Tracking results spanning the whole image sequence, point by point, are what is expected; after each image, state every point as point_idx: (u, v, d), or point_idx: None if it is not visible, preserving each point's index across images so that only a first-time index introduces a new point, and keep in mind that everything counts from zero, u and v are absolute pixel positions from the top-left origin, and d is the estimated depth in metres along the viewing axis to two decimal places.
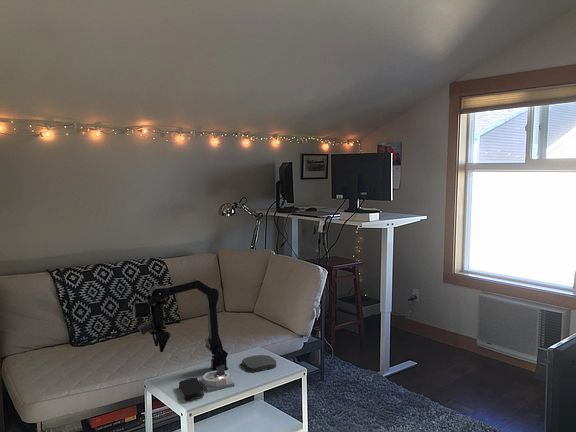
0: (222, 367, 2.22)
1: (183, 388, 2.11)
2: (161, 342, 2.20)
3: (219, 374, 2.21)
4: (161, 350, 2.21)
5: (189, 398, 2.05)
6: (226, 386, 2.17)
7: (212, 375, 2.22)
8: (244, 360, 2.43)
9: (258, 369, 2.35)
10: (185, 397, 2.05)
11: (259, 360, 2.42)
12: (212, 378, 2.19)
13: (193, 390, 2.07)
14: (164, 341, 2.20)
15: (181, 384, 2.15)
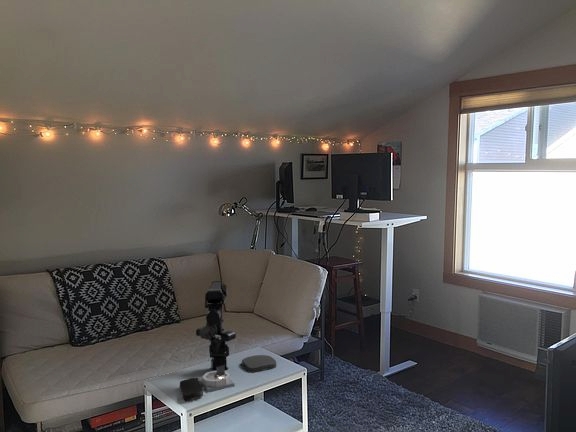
0: (222, 367, 2.22)
1: (183, 388, 2.11)
2: (217, 342, 2.23)
3: (219, 374, 2.21)
4: (217, 350, 2.23)
5: (187, 398, 2.05)
6: (226, 386, 2.17)
7: (212, 375, 2.22)
8: (244, 360, 2.43)
9: (258, 369, 2.35)
10: (183, 397, 2.05)
11: (259, 360, 2.42)
12: (212, 378, 2.19)
13: (192, 391, 2.07)
14: (220, 341, 2.23)
15: (181, 384, 2.15)
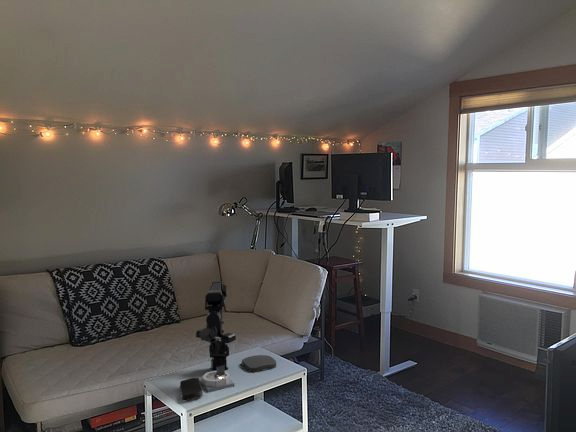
0: (222, 367, 2.22)
1: (182, 388, 2.11)
2: (218, 344, 2.23)
3: (219, 374, 2.21)
4: (217, 352, 2.23)
5: (186, 398, 2.05)
6: (226, 386, 2.17)
7: (212, 375, 2.22)
8: (244, 360, 2.43)
9: (258, 369, 2.35)
10: (183, 397, 2.05)
11: (259, 360, 2.42)
12: (212, 378, 2.19)
13: (191, 391, 2.07)
14: (220, 343, 2.24)
15: (182, 384, 2.16)
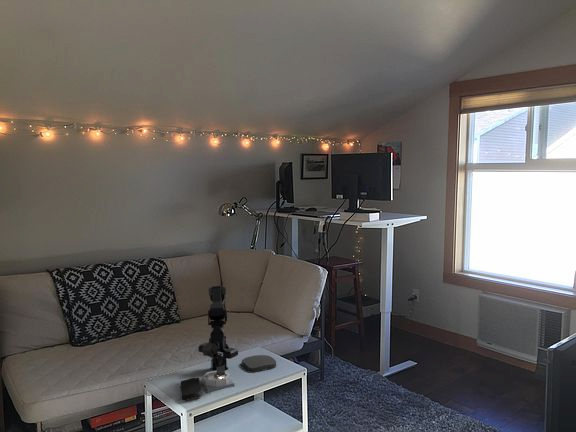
0: (222, 367, 2.22)
1: (182, 388, 2.11)
2: (220, 359, 2.23)
3: (219, 374, 2.21)
4: None
5: (185, 398, 2.05)
6: (226, 386, 2.17)
7: (212, 375, 2.22)
8: (244, 360, 2.43)
9: (258, 369, 2.35)
10: (182, 397, 2.05)
11: (259, 360, 2.42)
12: (212, 378, 2.19)
13: (190, 391, 2.07)
14: (222, 358, 2.24)
15: (182, 383, 2.16)
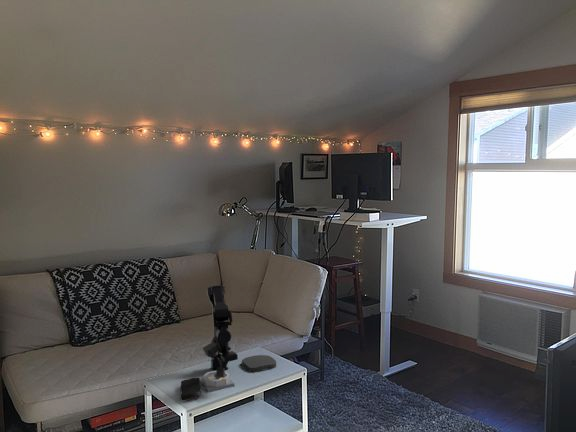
0: (221, 370, 2.19)
1: (182, 388, 2.11)
2: (223, 361, 2.21)
3: (218, 375, 2.20)
4: None
5: (185, 398, 2.05)
6: (226, 386, 2.17)
7: (216, 374, 2.23)
8: (244, 360, 2.43)
9: (258, 369, 2.35)
10: (181, 397, 2.05)
11: (259, 360, 2.42)
12: (209, 376, 2.21)
13: (190, 391, 2.07)
14: None
15: (182, 383, 2.16)
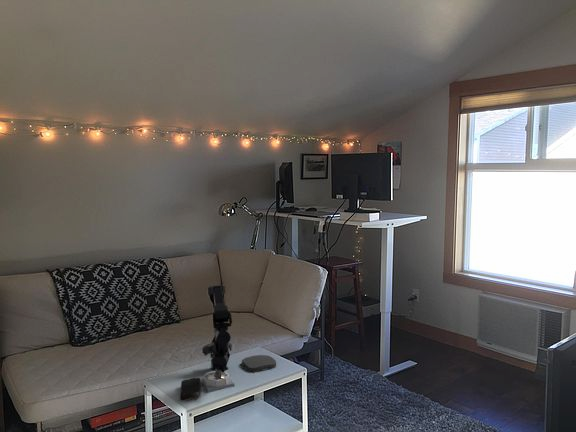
0: (217, 371, 2.18)
1: (182, 387, 2.11)
2: None
3: (216, 376, 2.20)
4: (222, 370, 2.20)
5: (184, 398, 2.05)
6: (226, 386, 2.17)
7: None
8: (244, 360, 2.43)
9: (258, 369, 2.35)
10: (180, 397, 2.05)
11: (259, 360, 2.42)
12: (211, 375, 2.23)
13: (189, 391, 2.07)
14: None
15: (182, 383, 2.16)
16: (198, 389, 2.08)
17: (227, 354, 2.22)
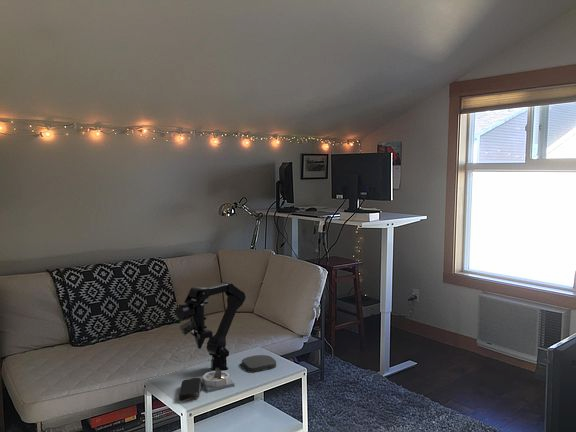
0: (217, 371, 2.18)
1: (182, 387, 2.12)
2: (199, 339, 2.28)
3: (216, 376, 2.20)
4: (199, 347, 2.29)
5: (183, 398, 2.05)
6: (226, 386, 2.17)
7: None
8: (244, 360, 2.43)
9: (258, 369, 2.35)
10: (179, 397, 2.05)
11: (259, 360, 2.42)
12: (211, 374, 2.23)
13: (188, 391, 2.07)
14: None
15: (183, 383, 2.16)
16: (197, 389, 2.08)
17: None
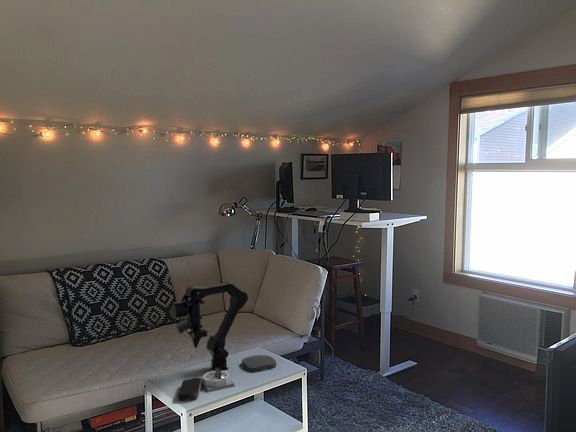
0: (217, 371, 2.18)
1: (181, 387, 2.12)
2: (195, 338, 2.30)
3: (216, 376, 2.20)
4: (195, 346, 2.30)
5: (181, 398, 2.05)
6: (226, 386, 2.17)
7: None
8: (244, 360, 2.43)
9: (258, 369, 2.35)
10: (178, 396, 2.06)
11: (259, 360, 2.42)
12: (211, 374, 2.23)
13: (187, 391, 2.07)
14: None
15: (183, 383, 2.16)
16: (196, 389, 2.08)
17: None
